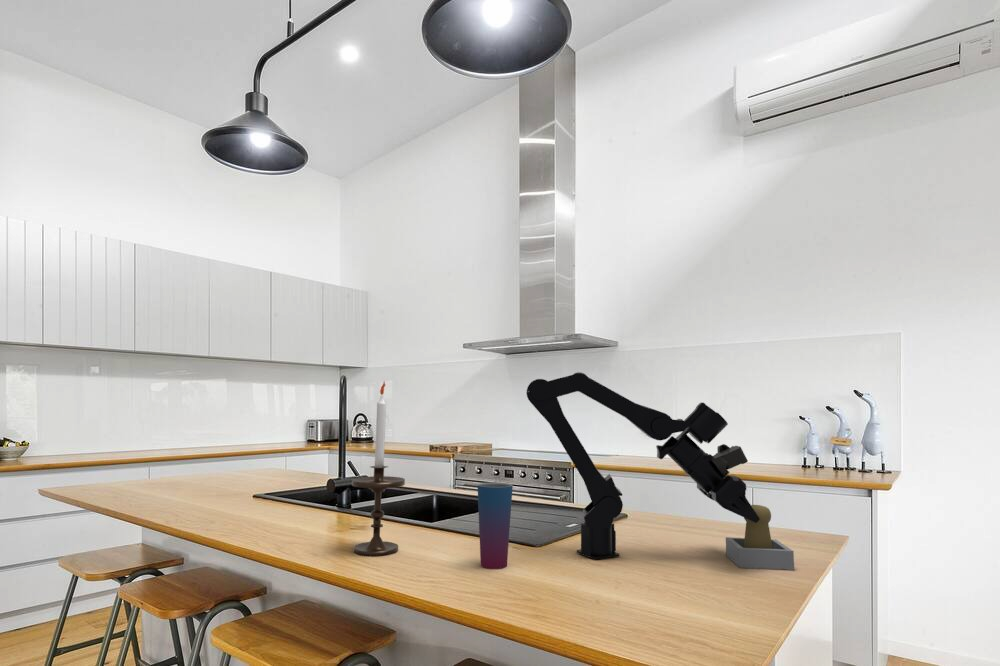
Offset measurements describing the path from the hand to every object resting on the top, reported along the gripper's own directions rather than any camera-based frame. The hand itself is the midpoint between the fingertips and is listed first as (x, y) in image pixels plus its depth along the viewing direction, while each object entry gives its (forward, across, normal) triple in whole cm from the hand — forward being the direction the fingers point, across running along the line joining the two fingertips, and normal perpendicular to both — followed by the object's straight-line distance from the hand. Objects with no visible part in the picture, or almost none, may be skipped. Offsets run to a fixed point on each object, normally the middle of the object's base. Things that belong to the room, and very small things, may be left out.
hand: (751, 516), depth 120 cm
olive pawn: (+7, 0, +6) cm, 9 cm away
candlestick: (-48, -5, +60) cm, 76 cm away
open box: (+7, 0, +5) cm, 9 cm away
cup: (-30, -12, +42) cm, 53 cm away
